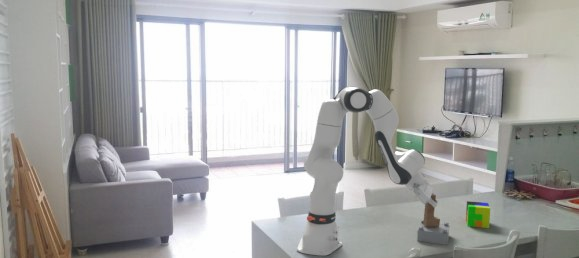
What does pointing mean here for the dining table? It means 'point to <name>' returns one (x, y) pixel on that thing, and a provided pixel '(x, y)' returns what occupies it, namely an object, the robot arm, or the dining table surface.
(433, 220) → the wooden block
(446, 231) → the base brick
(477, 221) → the puzzle toy
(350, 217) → the dining table surface
